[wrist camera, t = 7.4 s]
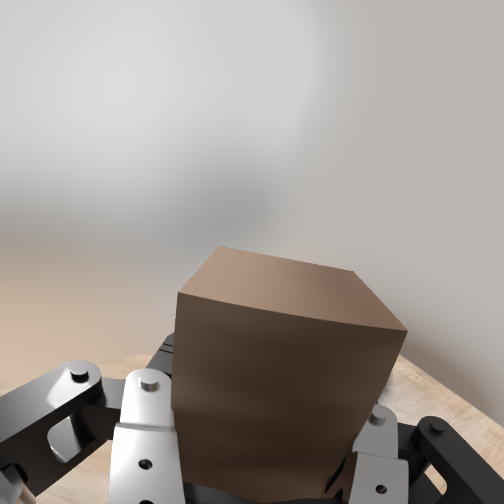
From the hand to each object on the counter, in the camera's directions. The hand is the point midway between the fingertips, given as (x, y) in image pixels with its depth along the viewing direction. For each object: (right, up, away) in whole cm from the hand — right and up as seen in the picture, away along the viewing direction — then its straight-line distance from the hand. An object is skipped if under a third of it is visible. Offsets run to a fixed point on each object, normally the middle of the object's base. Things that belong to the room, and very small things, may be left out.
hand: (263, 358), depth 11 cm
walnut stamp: (-2, -8, -1) cm, 8 cm away
